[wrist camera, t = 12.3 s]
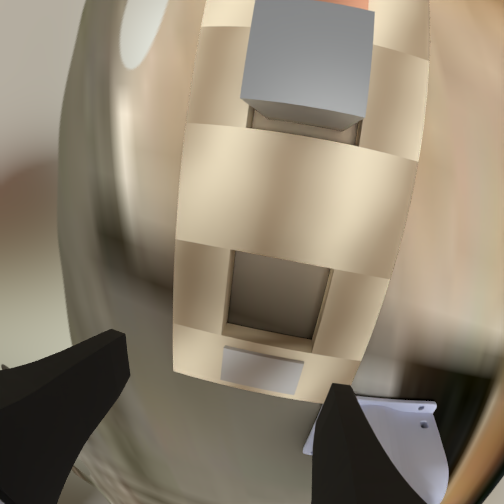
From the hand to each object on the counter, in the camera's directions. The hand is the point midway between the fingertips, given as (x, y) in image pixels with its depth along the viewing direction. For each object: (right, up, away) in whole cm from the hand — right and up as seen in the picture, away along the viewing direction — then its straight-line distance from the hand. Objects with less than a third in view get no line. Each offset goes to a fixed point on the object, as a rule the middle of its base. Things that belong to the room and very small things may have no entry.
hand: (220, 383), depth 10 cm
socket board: (+3, +7, +7) cm, 11 cm away
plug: (+4, +13, +5) cm, 14 cm away
